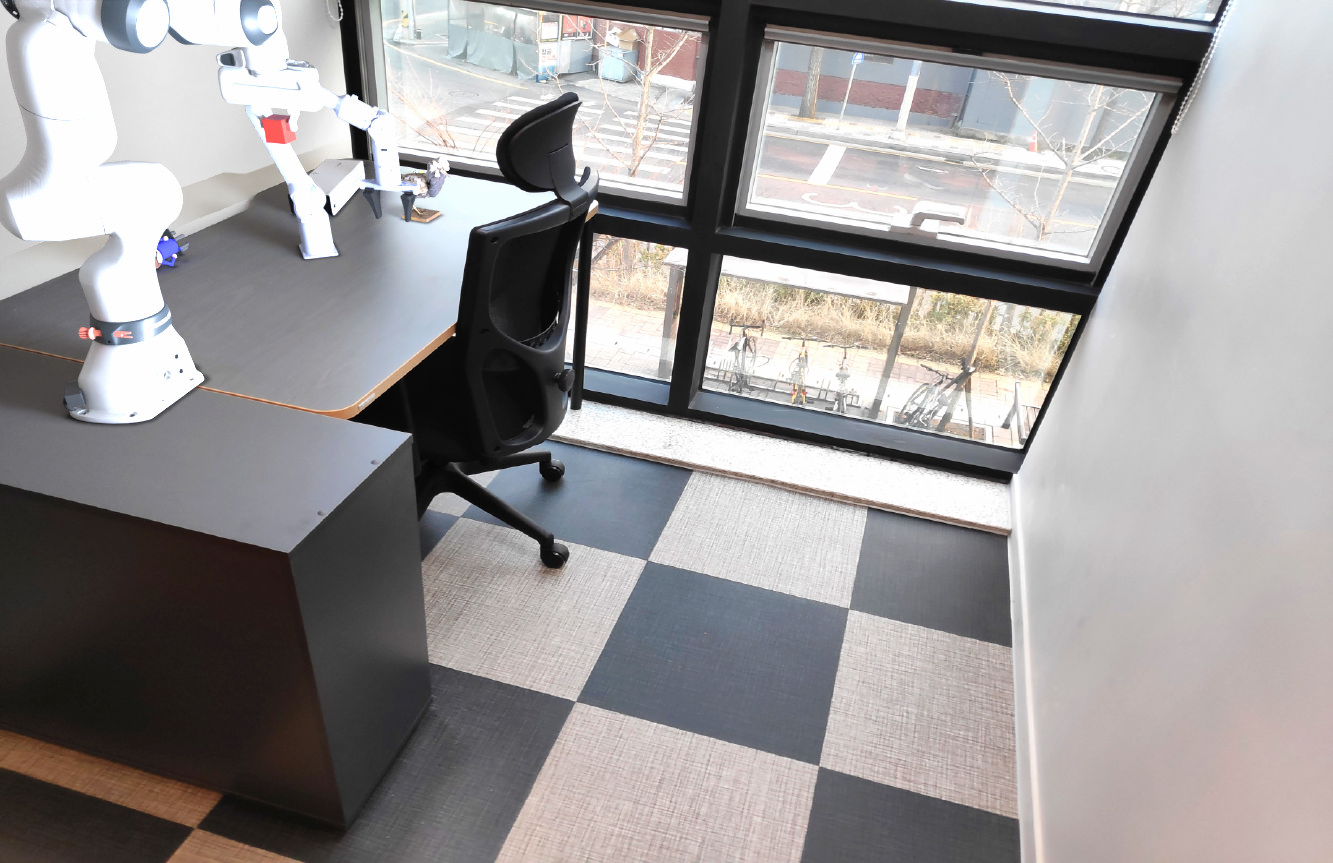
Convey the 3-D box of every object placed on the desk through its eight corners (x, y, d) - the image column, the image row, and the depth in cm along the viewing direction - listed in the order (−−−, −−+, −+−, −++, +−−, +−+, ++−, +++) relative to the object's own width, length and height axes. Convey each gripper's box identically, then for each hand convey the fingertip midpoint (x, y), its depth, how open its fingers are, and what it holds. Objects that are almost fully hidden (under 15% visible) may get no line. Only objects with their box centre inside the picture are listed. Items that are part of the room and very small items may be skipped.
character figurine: (198, 256, 199) (155, 280, 187) (170, 250, 200) (126, 274, 187) (191, 225, 195) (148, 248, 182) (163, 220, 195) (117, 242, 183)
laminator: (328, 178, 253) (325, 158, 250) (369, 180, 254) (366, 160, 251) (291, 215, 225) (287, 193, 222) (337, 217, 226) (333, 195, 222)
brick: (296, 139, 173) (292, 115, 170) (285, 144, 169) (281, 120, 167) (277, 137, 173) (272, 113, 171) (266, 142, 170) (261, 118, 167)
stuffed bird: (455, 224, 227) (450, 161, 218) (382, 221, 226) (373, 157, 216) (461, 212, 235) (456, 151, 226) (390, 209, 234) (382, 147, 225)
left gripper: (322, 59, 164) (334, 130, 172) (225, 50, 166) (241, 121, 173) (307, 64, 159) (319, 137, 167) (207, 55, 160) (224, 128, 168)
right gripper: (421, 162, 201) (427, 216, 208) (364, 157, 202) (372, 211, 209) (410, 170, 195) (417, 226, 202) (352, 165, 196) (360, 220, 203)
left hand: (279, 129), depth 170 cm, fingers closed on brick, 4 cm apart
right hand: (393, 219), depth 205 cm, fingers open, 7 cm apart
